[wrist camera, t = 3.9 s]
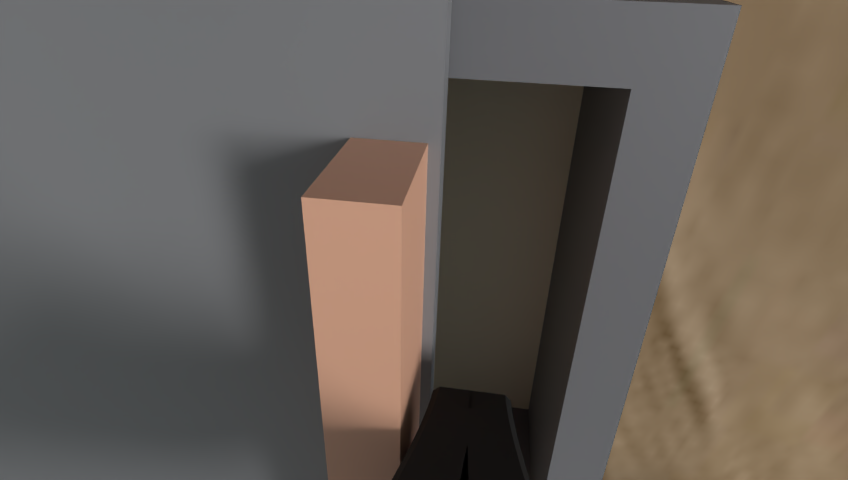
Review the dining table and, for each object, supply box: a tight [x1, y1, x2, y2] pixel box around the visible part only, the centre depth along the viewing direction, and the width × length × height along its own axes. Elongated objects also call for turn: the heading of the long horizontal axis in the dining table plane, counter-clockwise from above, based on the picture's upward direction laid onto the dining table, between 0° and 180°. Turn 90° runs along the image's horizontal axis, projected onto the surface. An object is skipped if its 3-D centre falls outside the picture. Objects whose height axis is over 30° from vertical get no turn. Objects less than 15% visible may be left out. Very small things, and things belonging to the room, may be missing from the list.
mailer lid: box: [0, 0, 452, 480], centre depth 10 cm, size 14×12×3 cm
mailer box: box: [433, 0, 742, 480], centre depth 14 cm, size 14×12×5 cm
